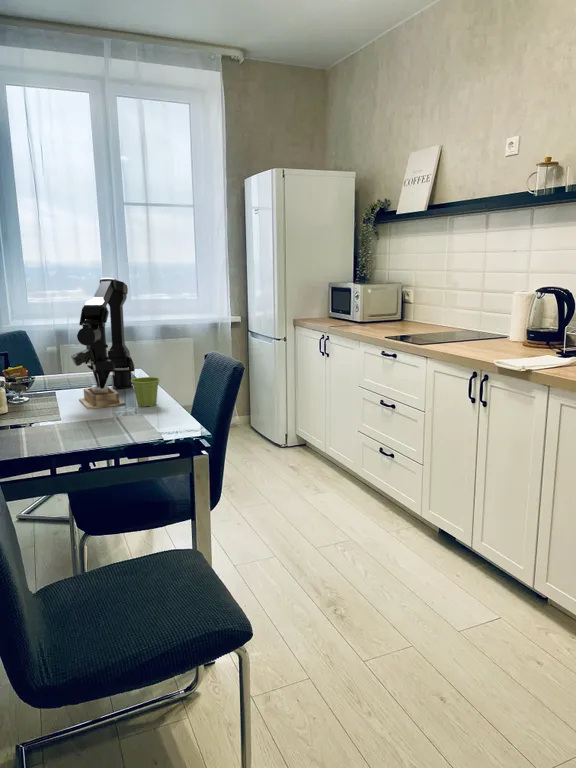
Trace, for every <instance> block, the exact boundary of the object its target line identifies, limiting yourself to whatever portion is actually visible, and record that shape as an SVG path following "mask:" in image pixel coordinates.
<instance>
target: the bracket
mask: <svg viewBox="0 0 576 768" xmlns="http://www.w3.org/2000/svg"><path fill="white" fill-rule="evenodd" d="M108 386H109V385H108V380H107V381H106V384H105V387H104V388H103V389H101V388H100V385H97V384H96V385H91V387H90V388H92V392H93V393H94V394H96V393H105V392H108Z"/></svg>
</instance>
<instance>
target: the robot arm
mask: <svg viewBox="0 0 576 768" xmlns="http://www.w3.org/2000/svg"><path fill="white" fill-rule="evenodd" d="M128 292H129V289H128V285H127V283H125V282H124V281H120V280H117V279H116V278H114V277H113V278H112V277H102V278H100V279H99V285H98V287H97V288H96V291H95V293H94V296H93V297H92V299H89V300H87V301H86V302H85V303H84V305H83V307H82V308H81V312H80V313H81V314H80V319H79V323H78V324H79V326H82V328H80V329H79V330H78V332H77V334H76V338H77V341H78V342H79V344H81V345H83V346H85V349H84V350H80V351H79V352H76V353H74V354H72V355H70V357H71V360H72V362H73V364H74V365H75V366H76V367H77V366H78V367H79V366H81V365H82V364H85V365H86V367H87V368H88V369H89V370H91V372H92V374H93V377H94V380H95V383H96V385H100V388H101V389H103V388H104V387H105V384H106V381H107V382H108V378H109V376H110V374H111V373H112V374H111V377H110V378H111V386H112V387H113V388H114V389H115V390H118V389H128V388H129V389H130V388H134V386H133V384H132V382H131V380H132V372H135V363H134V360H133V359H132V356H131V353H130V350H129V348H128V347H127V346H126V342H125V324H124V307H123V306H124V304H125V302H126V301H127V297H128ZM107 306H109V309H108V308H107ZM109 315H110V316H109ZM109 317H110V330H111V331H110V332H111V347H110V349H109V350H107V349H108V348H109V344H107V335H106V334H107V333H106V323H107V322H108V318H109Z"/></svg>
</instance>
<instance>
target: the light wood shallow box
mask: <svg viewBox="0 0 576 768" xmlns="http://www.w3.org/2000/svg"><path fill="white" fill-rule="evenodd" d="M78 401H79V402H80V403H81V404H82V405H83V406H84V407H85V408H86V409H87V410H94V409H100V408H109V407H116V406H125V405H126V402H125V401H123V400H122V399H121V398H120V393H119V392H118V391H116V389H113V388H112V387H110V385H108V392H105V393H96V394H94V393H93V392H92V387H86V388H83V397H82V398H78Z"/></svg>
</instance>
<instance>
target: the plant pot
mask: <svg viewBox="0 0 576 768" xmlns="http://www.w3.org/2000/svg"><path fill="white" fill-rule="evenodd" d="M160 380H161V379H160V377H156V376H155V377H154V376H144V377H142V376H141V377H137V378H131V382H132V385H133V391H134V394H135V399H136V402H137V403H136V404H137V406H138V407H144V408H145V407H153V406H156V405H157V402H158V401H157V400H158V388H159V387H158V386H159V383H160Z"/></svg>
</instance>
